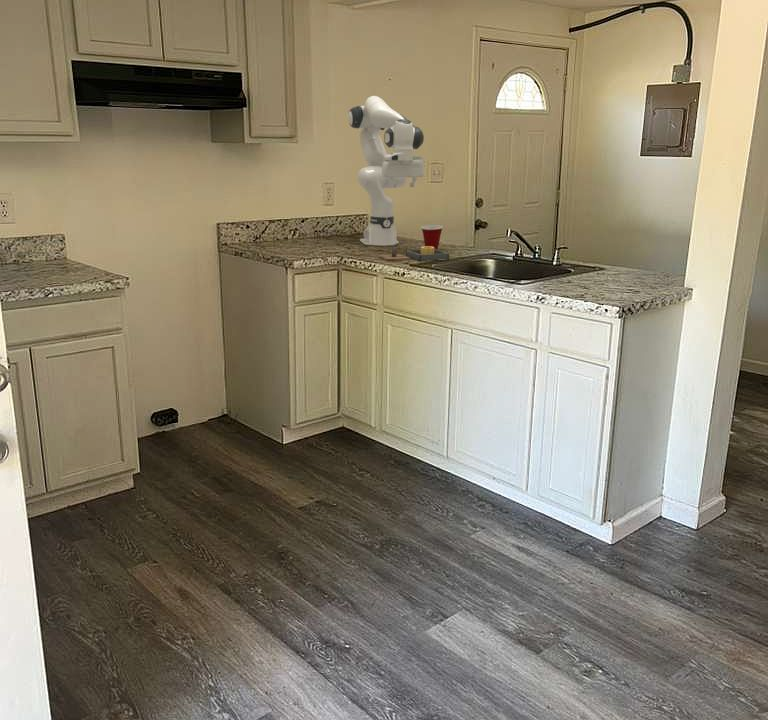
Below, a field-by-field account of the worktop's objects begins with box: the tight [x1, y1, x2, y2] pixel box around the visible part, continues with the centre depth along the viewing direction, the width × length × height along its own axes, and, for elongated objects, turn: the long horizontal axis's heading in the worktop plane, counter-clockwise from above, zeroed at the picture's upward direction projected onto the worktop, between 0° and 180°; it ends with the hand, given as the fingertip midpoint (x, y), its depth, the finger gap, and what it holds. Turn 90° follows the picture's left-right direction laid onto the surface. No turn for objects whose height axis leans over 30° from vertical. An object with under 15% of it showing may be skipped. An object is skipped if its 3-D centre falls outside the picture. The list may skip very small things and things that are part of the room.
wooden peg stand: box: [377, 244, 411, 262], centre depth 349 cm, size 11×11×6 cm
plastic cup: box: [420, 224, 444, 250], centre depth 371 cm, size 11×11×12 cm
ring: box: [420, 245, 434, 255], centre depth 351 cm, size 6×6×4 cm
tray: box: [405, 248, 450, 262], centre depth 352 cm, size 15×15×3 cm
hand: (402, 187), depth 353 cm, fingers open, 8 cm apart
